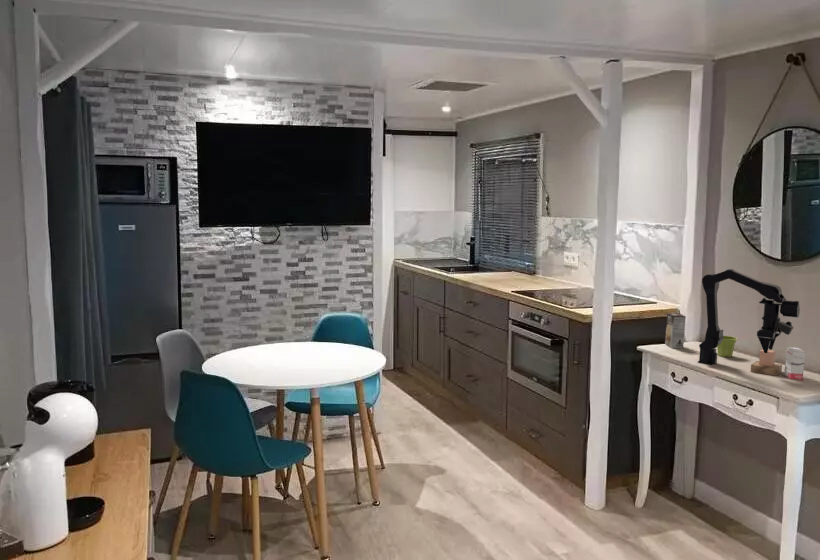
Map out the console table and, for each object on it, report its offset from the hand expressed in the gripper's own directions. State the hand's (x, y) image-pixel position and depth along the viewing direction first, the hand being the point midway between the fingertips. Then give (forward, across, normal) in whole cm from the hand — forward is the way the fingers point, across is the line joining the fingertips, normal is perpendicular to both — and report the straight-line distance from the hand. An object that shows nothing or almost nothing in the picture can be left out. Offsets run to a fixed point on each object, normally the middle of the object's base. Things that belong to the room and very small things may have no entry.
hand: (768, 351), depth 300 cm
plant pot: (+9, +21, +22) cm, 32 cm away
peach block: (+6, 0, 0) cm, 6 cm away
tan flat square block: (+9, 0, 0) cm, 9 cm away
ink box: (+9, -3, -11) cm, 14 cm away
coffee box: (+9, +26, +47) cm, 55 cm away
